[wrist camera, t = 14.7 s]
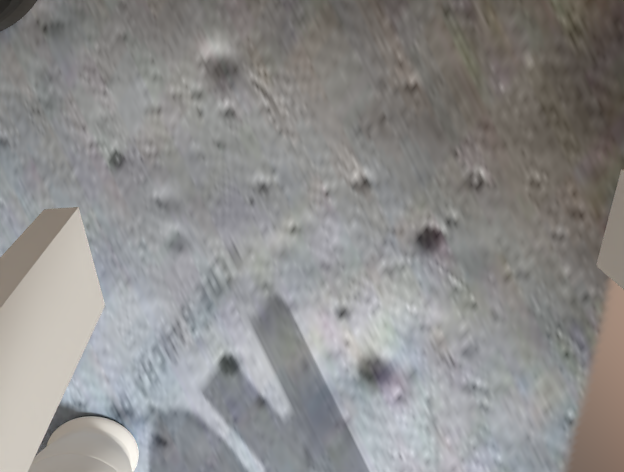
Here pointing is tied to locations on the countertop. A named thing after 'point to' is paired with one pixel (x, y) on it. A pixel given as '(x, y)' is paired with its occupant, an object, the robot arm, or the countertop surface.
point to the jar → (88, 448)
